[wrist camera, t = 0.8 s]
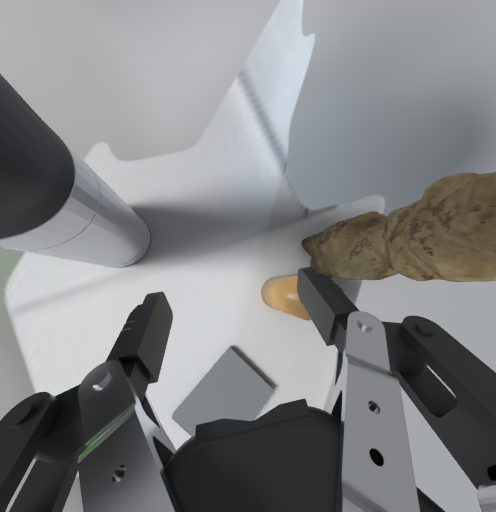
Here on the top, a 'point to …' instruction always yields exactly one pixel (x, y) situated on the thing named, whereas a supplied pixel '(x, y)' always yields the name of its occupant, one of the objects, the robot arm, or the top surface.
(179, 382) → the top surface
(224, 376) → the mat
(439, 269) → the sculpture
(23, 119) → the robot arm
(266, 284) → the bottle
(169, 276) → the top surface
